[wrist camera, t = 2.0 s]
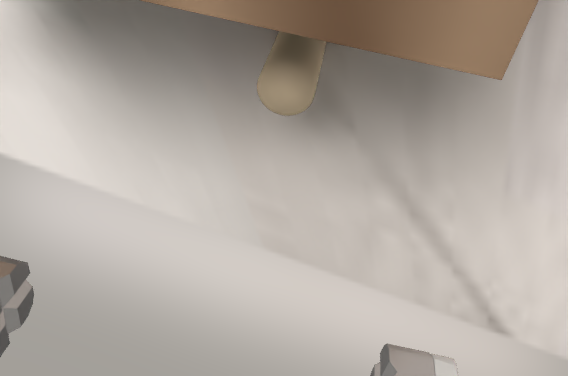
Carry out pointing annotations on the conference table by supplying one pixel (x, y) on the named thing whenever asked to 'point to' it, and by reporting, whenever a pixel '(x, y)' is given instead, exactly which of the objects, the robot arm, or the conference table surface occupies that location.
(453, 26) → the walnut shelf
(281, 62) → the tethered block
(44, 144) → the conference table surface
